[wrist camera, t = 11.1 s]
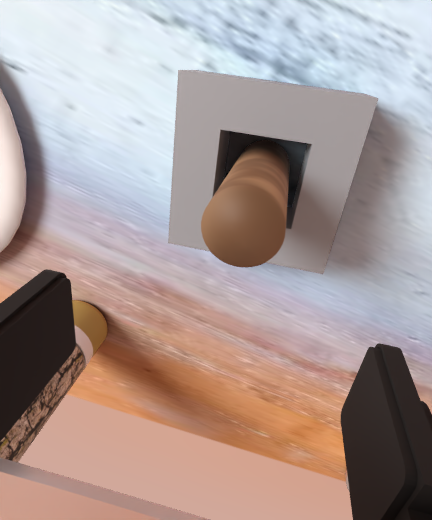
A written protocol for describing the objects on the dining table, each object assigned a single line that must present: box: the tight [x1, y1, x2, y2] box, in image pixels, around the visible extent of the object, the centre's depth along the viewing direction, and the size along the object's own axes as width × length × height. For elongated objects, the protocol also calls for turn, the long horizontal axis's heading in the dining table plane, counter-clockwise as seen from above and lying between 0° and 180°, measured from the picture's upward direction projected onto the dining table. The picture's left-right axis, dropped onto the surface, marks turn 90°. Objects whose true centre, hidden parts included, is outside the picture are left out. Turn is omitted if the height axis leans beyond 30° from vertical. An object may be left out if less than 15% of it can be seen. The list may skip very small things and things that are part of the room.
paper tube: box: [0, 300, 108, 463], centre depth 32 cm, size 7×7×25 cm
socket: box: [168, 70, 378, 274], centre depth 28 cm, size 13×13×5 cm
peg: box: [201, 140, 290, 267], centre depth 24 cm, size 4×4×14 cm
